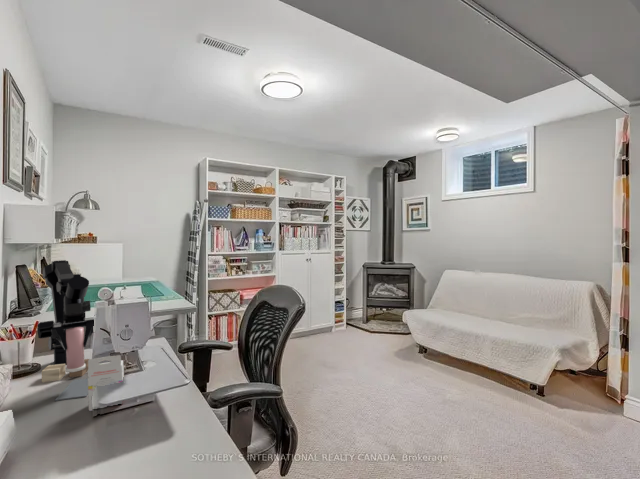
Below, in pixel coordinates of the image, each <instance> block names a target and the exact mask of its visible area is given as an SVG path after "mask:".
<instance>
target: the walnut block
mask: <svg viewBox="0 0 640 479" xmlns="http://www.w3.org/2000/svg"><path fill="white" fill-rule="evenodd" d="M89 359H90V358H87V359H86V358H84V363H85V364H86V368H85V369H83V370H80V371H77V372H68V377H69V378H77V377H78V378H79V377H83V376H85V374H86V373H88V372H87V371H88V360H89Z"/></svg>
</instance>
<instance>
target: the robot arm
mask: <svg viewBox="0 0 640 479" xmlns="http://www.w3.org/2000/svg"><path fill="white" fill-rule="evenodd" d="M42 279H44V283H45V285H46V286H47V287H49V288H50V290H51V297H52V307H53V315H54V320H48V321H45V320H44V321H39V323H38V324H37V325H36V326H37V327H36V328H37V335H38V336H37V338H38V339H46V338H48V341H47V344H48V346H47V348H49V351H53V361H52V362H51V363H50V364H49V365H57V364H65V365H67V357H66V330H67V329H69V328H74V327H84V328H85V329H84V348H86V347H87V346H88V343H89V341H90V338H91V336H92V334H93V333H94V332H93V326H94V318H93V319H86V312H90V311H91V300H85V297H86V295H87V292H88V288H89V287H90V286H89V285H90V281H89V280H88V278H87V277H84V276H81V274H80V273H77V274H75V273H74V272H73V270H72V269H71V265H70V263H69V260H65V259H64V260H53V261H51V263H50V264H47V265H46V266H45V265H44V267H43V270H42ZM95 315H96V314H94V316H95ZM94 316H93V317H94Z"/></svg>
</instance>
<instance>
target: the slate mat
mask: <svg viewBox="0 0 640 479" xmlns="http://www.w3.org/2000/svg"><path fill="white" fill-rule="evenodd" d="M86 397H88V377H87V378H79V379H73V380H72V381H71V382H70V383H69V384H68V385H67V386H66V387H65V389H64V390H63V391H61V392H60V393H59V395H58V396H57V397H56V398H55V399H54V401H55V402H58V401H64V400H72V399H79V398H86Z"/></svg>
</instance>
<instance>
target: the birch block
mask: <svg viewBox="0 0 640 479" xmlns="http://www.w3.org/2000/svg"><path fill="white" fill-rule="evenodd" d="M65 375H66V364H57V365H50V364H49V365H47V366H46V367H45V368H44V369H42V370H41V383H48V382H55V381H60V380H62V378H63V377H65Z"/></svg>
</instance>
